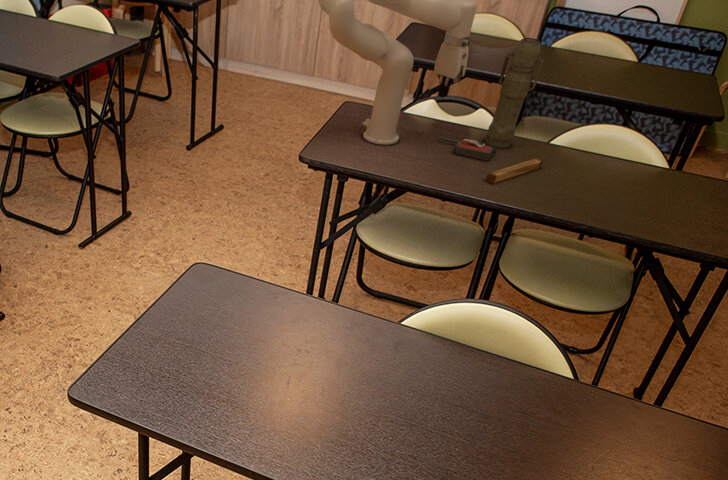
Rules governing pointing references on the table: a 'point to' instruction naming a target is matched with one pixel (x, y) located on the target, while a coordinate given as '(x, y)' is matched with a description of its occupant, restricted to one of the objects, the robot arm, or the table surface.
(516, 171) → the bar
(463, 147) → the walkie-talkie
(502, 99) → the thermos
